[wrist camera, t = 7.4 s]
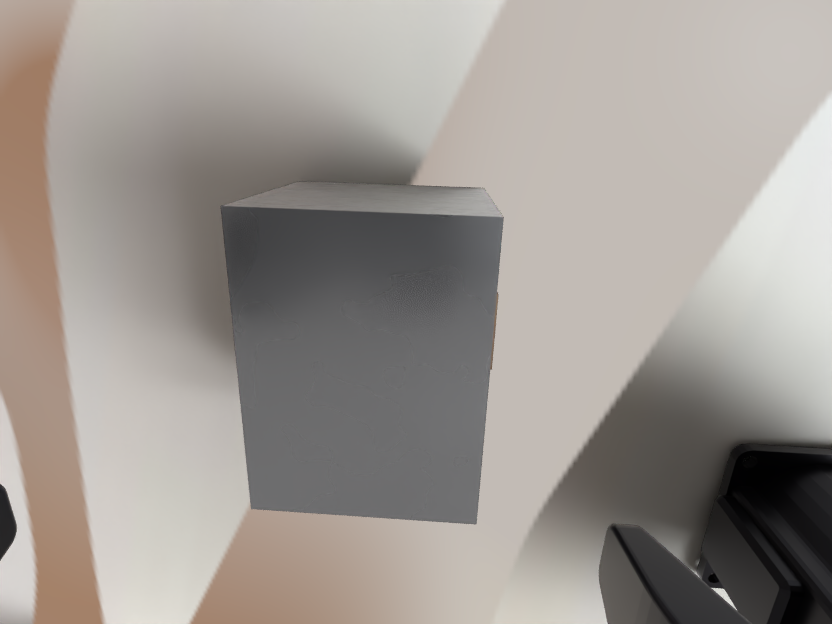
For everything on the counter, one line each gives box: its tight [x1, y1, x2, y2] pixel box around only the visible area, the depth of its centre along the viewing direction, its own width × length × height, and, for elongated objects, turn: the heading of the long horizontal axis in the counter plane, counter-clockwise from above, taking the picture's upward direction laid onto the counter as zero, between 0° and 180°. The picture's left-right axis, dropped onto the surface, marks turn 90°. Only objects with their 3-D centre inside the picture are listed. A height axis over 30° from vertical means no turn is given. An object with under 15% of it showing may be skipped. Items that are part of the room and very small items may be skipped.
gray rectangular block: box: [221, 181, 504, 524], centre depth 15 cm, size 6×8×6 cm
